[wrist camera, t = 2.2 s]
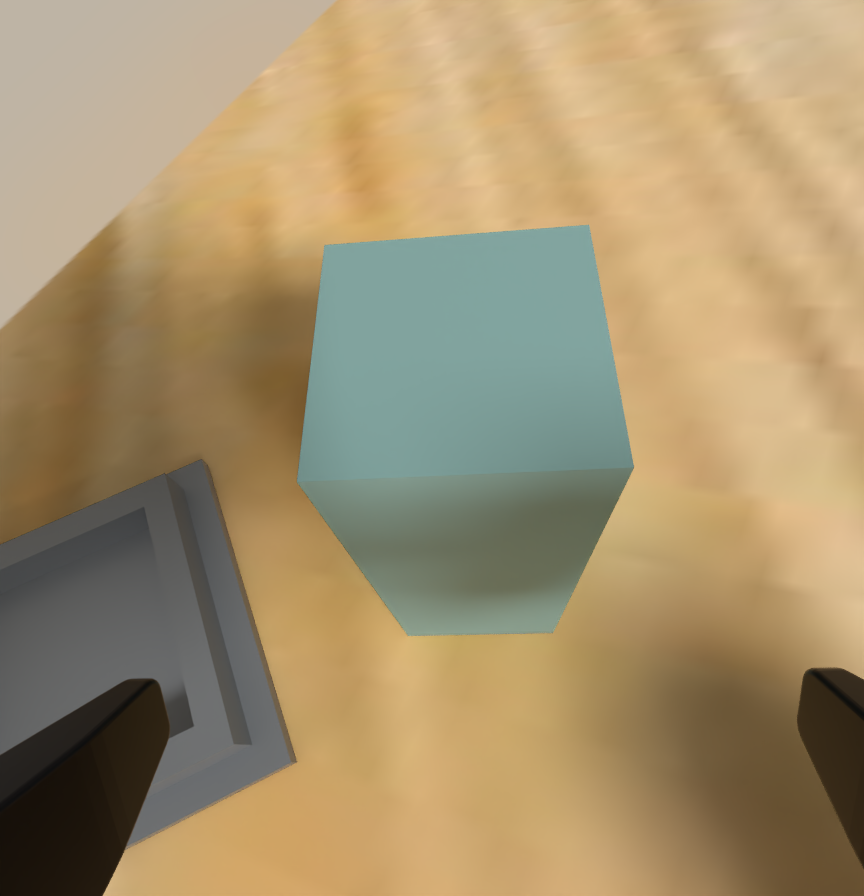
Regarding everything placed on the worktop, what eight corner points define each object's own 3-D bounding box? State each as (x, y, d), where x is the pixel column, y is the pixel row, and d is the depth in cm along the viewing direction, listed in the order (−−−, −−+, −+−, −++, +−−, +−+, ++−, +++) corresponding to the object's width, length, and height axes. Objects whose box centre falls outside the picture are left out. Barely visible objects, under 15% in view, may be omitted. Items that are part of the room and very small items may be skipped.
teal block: (552, 632, 20) (634, 467, 8) (407, 635, 20) (297, 481, 9) (539, 498, 22) (589, 224, 11) (410, 503, 23) (324, 244, 11)
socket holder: (296, 762, 19) (275, 763, 17) (-79, 954, 17) (-148, 978, 15) (207, 465, 24) (184, 441, 22) (-83, 591, 23) (-134, 577, 21)
